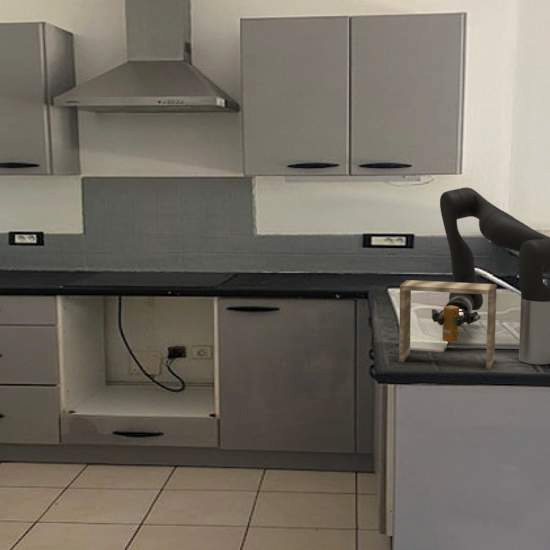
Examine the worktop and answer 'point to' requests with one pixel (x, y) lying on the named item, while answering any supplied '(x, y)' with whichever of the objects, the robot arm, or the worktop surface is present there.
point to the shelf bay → (451, 288)
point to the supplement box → (450, 323)
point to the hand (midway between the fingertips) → (449, 322)
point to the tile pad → (428, 346)
